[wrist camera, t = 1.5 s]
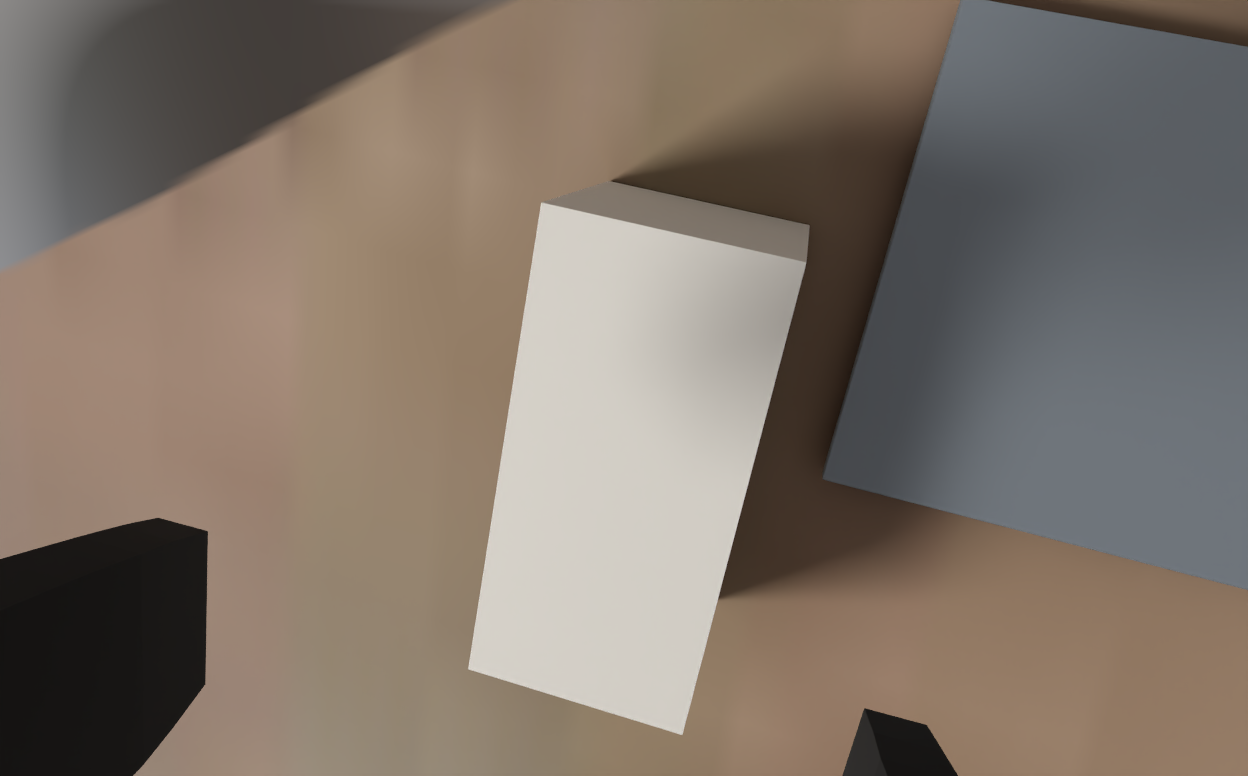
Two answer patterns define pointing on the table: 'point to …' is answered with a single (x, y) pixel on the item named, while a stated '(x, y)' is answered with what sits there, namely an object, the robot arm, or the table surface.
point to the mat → (1068, 295)
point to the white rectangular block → (631, 443)
